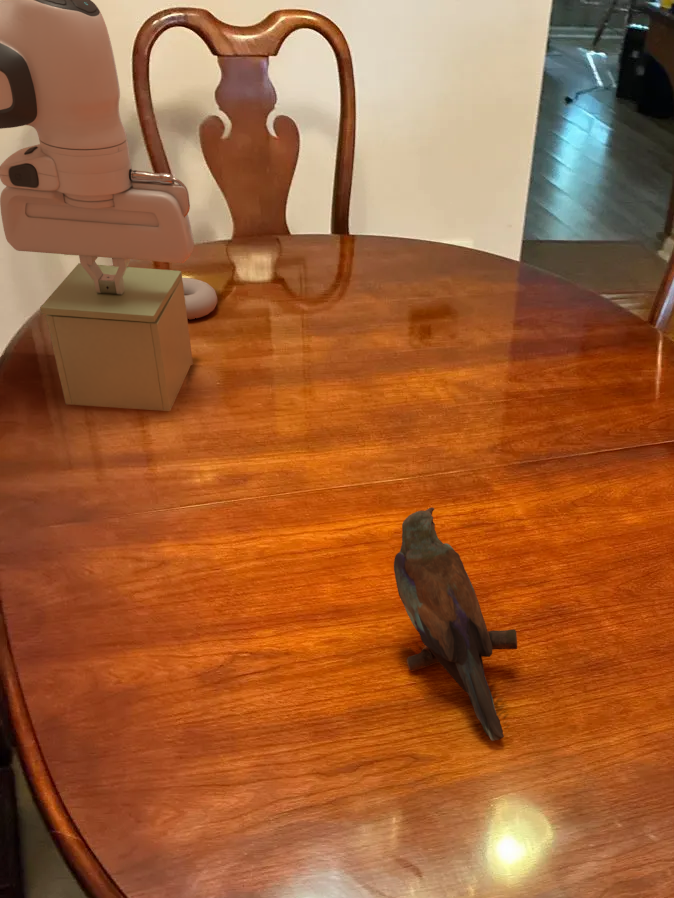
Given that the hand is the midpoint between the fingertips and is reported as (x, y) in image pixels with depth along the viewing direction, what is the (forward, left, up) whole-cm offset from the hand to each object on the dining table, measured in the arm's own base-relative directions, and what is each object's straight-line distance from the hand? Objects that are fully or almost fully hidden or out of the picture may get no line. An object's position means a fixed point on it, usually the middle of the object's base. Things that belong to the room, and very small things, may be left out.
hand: (110, 292), depth 113 cm
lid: (0, +1, -1) cm, 2 cm away
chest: (0, +2, -14) cm, 14 cm away
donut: (+1, +28, -14) cm, 31 cm away
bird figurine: (+42, -46, -14) cm, 64 cm away
